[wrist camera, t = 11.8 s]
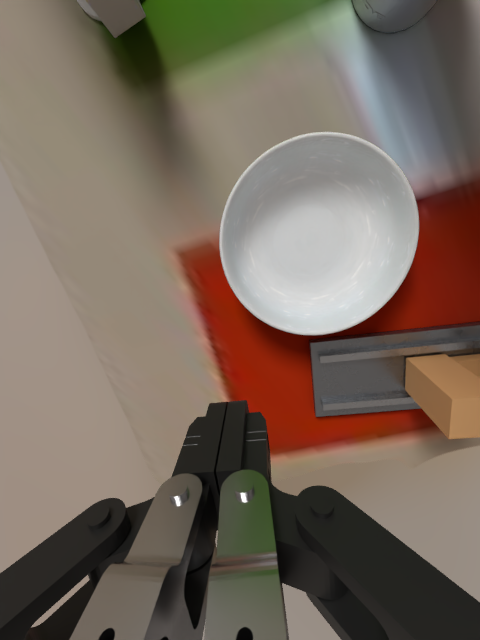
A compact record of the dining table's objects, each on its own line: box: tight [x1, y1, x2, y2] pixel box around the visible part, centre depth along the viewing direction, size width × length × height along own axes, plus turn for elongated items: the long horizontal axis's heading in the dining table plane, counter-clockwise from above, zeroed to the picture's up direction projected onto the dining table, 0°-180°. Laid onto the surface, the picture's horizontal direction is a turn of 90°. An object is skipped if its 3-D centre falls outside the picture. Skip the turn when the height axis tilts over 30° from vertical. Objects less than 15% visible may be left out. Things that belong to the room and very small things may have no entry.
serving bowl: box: [219, 132, 419, 335], centre depth 34 cm, size 21×21×7 cm
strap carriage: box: [405, 354, 480, 439], centre depth 35 cm, size 12×5×10 cm, turn 98°
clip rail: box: [309, 322, 480, 417], centre depth 38 cm, size 26×12×8 cm, turn 98°
